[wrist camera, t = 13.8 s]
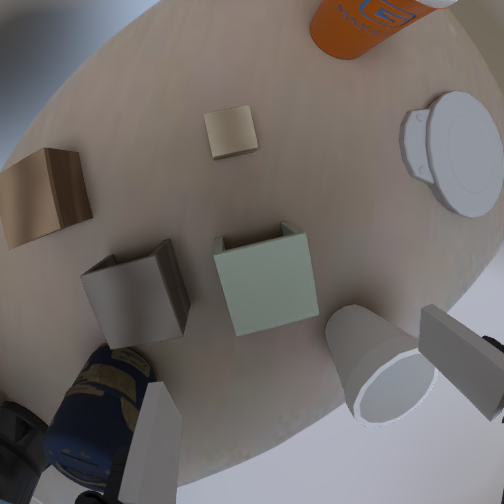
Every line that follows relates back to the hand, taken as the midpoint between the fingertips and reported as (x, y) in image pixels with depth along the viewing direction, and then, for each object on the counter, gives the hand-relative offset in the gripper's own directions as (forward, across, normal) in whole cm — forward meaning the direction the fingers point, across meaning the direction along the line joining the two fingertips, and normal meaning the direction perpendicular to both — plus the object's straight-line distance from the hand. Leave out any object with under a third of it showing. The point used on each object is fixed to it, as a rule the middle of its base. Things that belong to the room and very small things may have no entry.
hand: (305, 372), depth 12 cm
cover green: (+18, 0, 0) cm, 19 cm away
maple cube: (+19, 0, -13) cm, 23 cm away
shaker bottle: (+19, -15, -24) cm, 34 cm away
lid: (+19, -29, -8) cm, 36 cm away
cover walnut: (+19, +20, -13) cm, 30 cm away
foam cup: (+19, -9, +11) cm, 24 cm away
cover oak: (+18, +12, -1) cm, 22 cm away
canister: (+19, +20, +10) cm, 29 cm away
